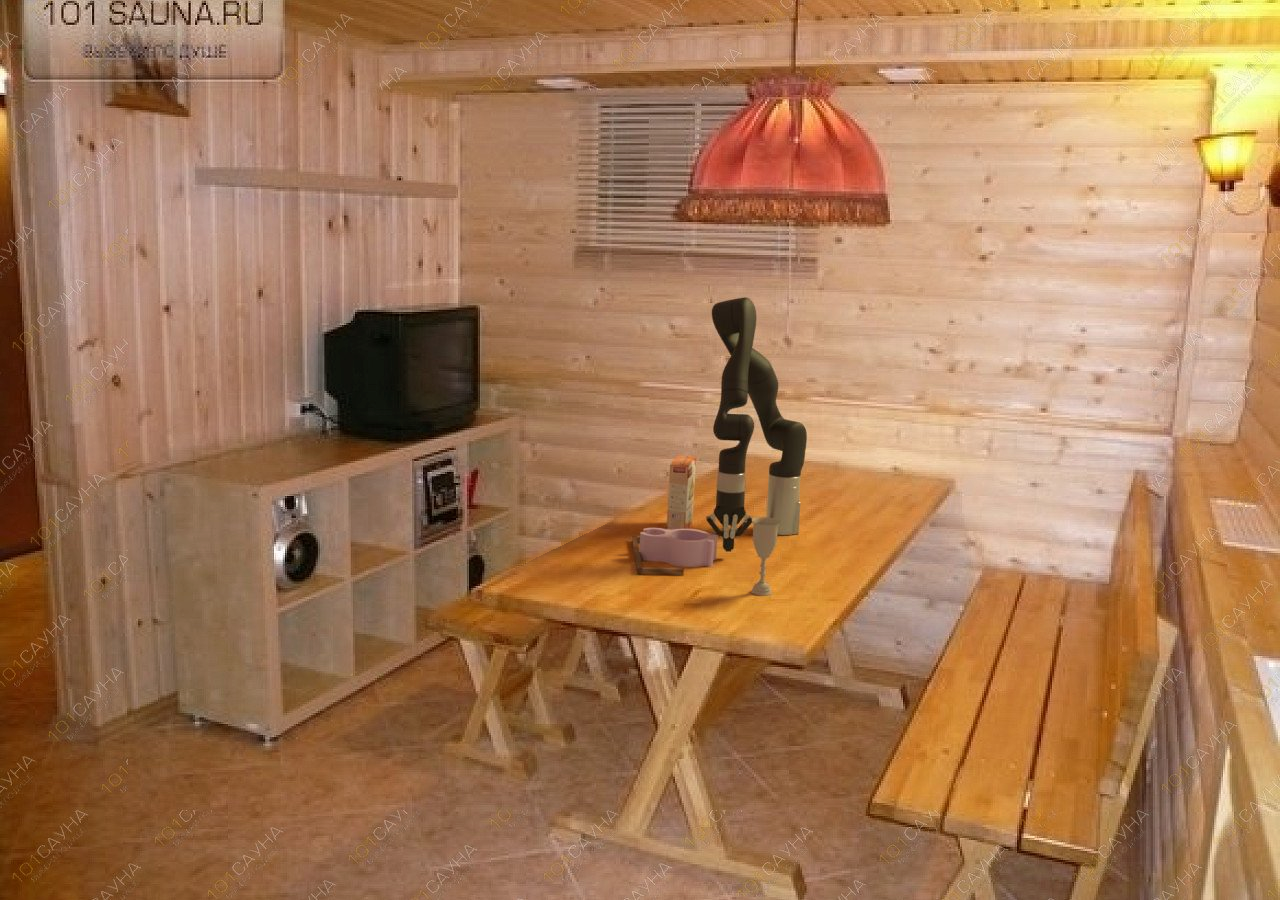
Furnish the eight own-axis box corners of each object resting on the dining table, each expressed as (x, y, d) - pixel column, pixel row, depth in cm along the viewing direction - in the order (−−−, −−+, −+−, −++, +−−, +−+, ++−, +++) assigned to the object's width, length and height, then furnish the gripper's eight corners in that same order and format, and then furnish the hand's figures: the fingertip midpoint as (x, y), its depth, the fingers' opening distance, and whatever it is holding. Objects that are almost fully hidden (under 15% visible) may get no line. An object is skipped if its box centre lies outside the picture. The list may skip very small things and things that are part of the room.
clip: (635, 562, 285) (636, 536, 284) (645, 549, 297) (646, 524, 296) (711, 569, 281) (712, 544, 280) (717, 556, 293) (719, 531, 292)
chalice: (745, 587, 268) (749, 516, 264) (772, 587, 268) (776, 517, 265) (750, 597, 261) (754, 525, 257) (778, 597, 261) (783, 525, 258)
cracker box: (686, 536, 310) (689, 465, 306) (665, 534, 311) (668, 463, 307) (693, 524, 324) (697, 455, 319) (673, 522, 325) (676, 454, 321)
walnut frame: (673, 542, 304) (673, 536, 304) (683, 575, 275) (683, 569, 275) (632, 541, 304) (632, 536, 303) (637, 574, 275) (637, 568, 274)
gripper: (753, 485, 291) (750, 547, 294) (704, 484, 290) (701, 546, 293) (757, 491, 283) (754, 555, 287) (707, 491, 283) (705, 554, 286)
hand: (727, 550), depth 290 cm, fingers closed
